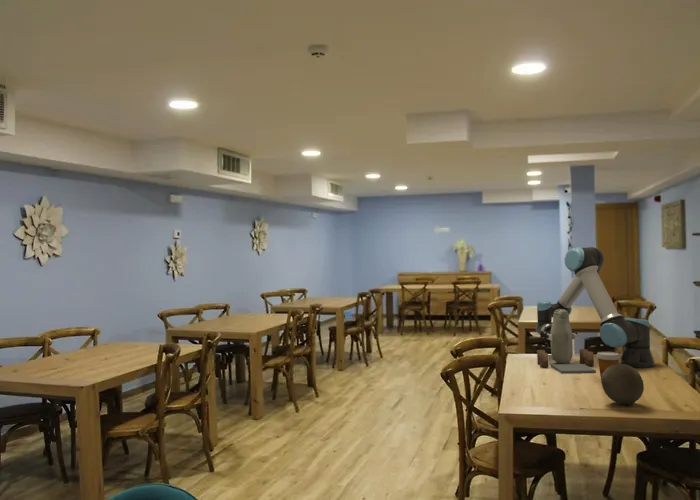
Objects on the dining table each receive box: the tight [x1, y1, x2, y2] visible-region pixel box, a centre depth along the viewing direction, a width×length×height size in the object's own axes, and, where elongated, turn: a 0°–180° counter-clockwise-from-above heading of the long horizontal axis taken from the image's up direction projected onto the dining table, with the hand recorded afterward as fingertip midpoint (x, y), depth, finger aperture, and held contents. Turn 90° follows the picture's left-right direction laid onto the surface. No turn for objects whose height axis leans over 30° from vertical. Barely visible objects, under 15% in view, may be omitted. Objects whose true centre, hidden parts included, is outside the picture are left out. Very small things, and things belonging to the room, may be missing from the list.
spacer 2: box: [539, 352, 550, 369], centre depth 285 cm, size 4×4×7 cm
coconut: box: [600, 363, 645, 406], centre depth 214 cm, size 14×14×15 cm
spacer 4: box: [584, 350, 595, 368], centre depth 286 cm, size 4×4×7 cm
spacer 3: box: [579, 348, 589, 365], centre depth 293 cm, size 4×4×7 cm
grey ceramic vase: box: [550, 309, 573, 364], centre depth 293 cm, size 10×10×28 cm
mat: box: [550, 363, 597, 375], centre depth 278 cm, size 16×16×1 cm
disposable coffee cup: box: [596, 351, 621, 378], centre depth 253 cm, size 10×10×12 cm
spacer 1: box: [536, 349, 546, 366], centre depth 293 cm, size 4×4×7 cm
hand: (563, 337), depth 289 cm, fingers open, 12 cm apart
